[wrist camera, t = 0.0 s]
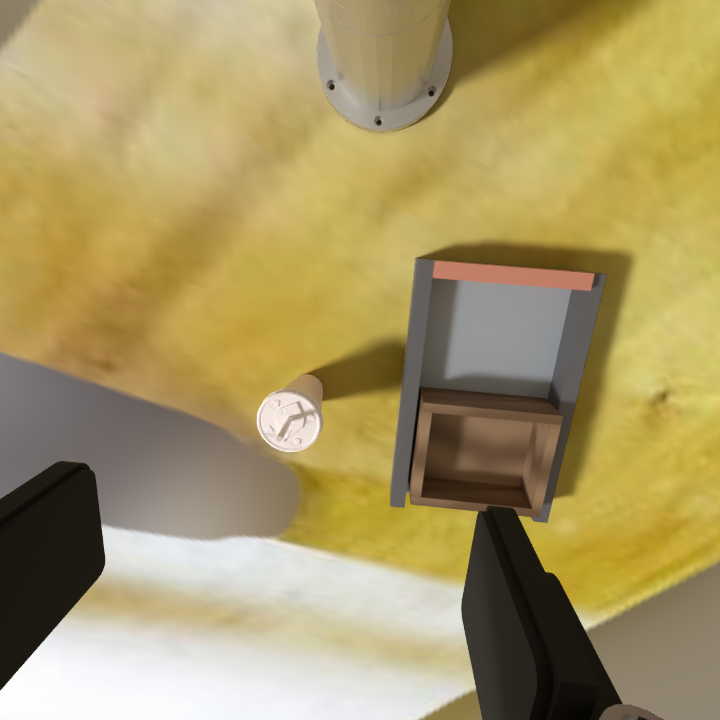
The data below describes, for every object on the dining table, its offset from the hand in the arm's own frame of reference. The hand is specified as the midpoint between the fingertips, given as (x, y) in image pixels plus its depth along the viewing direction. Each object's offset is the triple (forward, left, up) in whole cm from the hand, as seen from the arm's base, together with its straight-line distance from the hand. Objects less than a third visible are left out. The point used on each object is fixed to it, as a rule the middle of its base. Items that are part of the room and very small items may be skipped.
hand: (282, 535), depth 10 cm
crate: (+14, +14, -36) cm, 41 cm away
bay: (+8, +14, -37) cm, 40 cm away
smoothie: (+10, -6, -37) cm, 39 cm away
